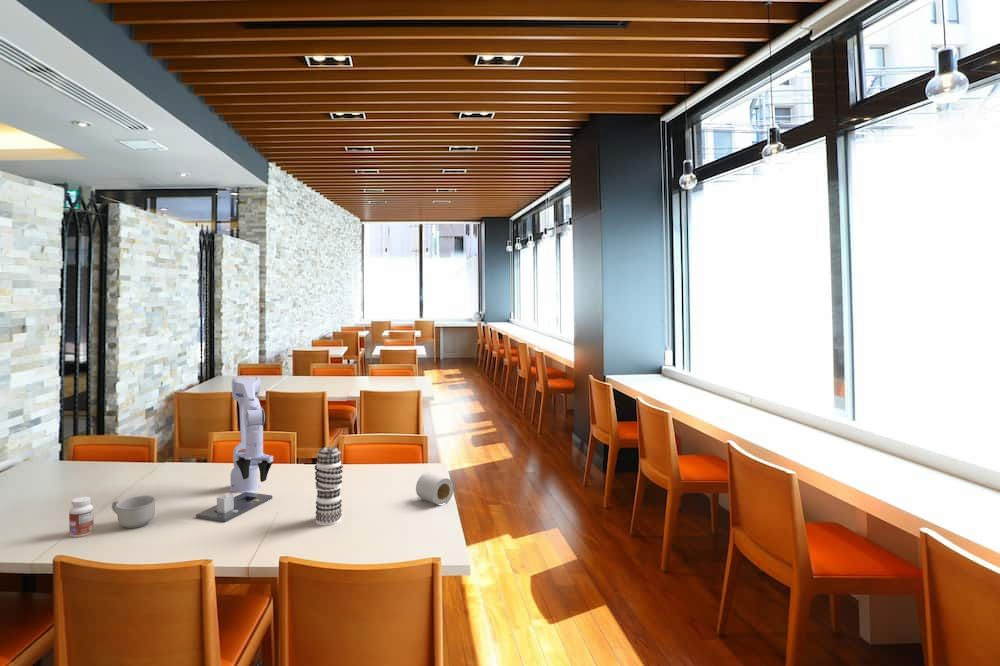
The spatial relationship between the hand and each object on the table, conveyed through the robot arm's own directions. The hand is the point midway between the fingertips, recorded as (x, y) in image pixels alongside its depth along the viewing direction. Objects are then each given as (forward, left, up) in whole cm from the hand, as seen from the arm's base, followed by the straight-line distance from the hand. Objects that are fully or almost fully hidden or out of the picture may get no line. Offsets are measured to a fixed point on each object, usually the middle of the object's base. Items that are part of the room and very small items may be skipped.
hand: (254, 479), depth 206 cm
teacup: (-27, -26, -10) cm, 39 cm away
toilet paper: (+59, +26, -10) cm, 66 cm away
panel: (-5, -4, -10) cm, 12 cm away
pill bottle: (-35, -37, -10) cm, 52 cm away
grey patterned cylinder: (+32, -3, -10) cm, 34 cm away
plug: (-5, -9, -10) cm, 14 cm away
